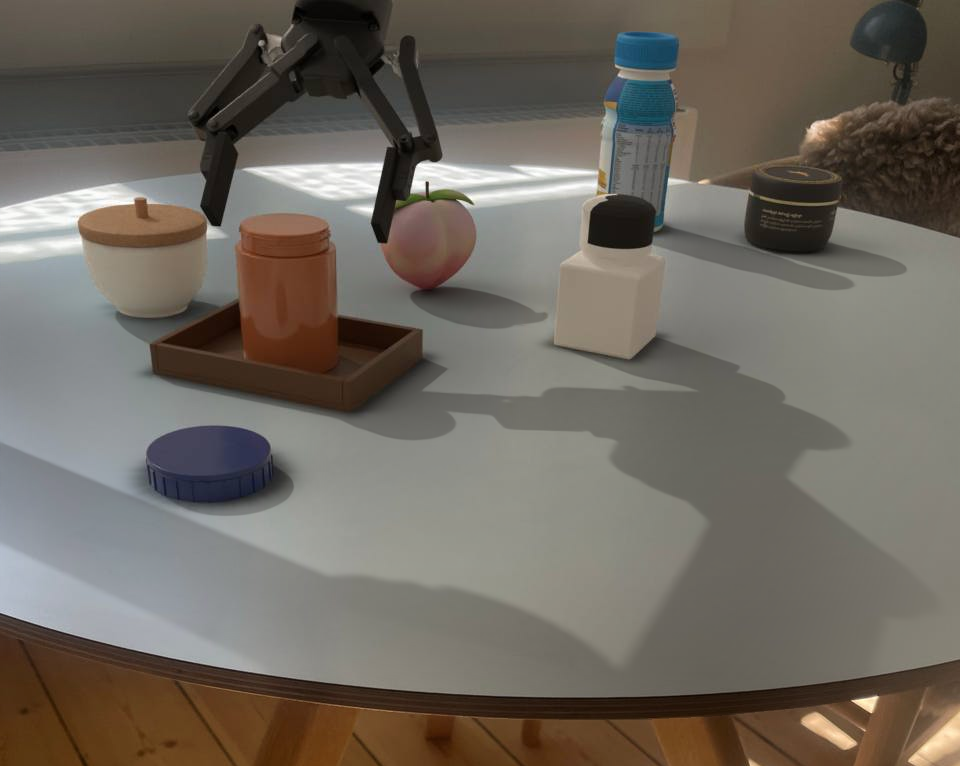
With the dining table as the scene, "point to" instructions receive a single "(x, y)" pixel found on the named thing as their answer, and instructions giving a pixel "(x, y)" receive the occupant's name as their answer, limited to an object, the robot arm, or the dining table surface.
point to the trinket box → (146, 256)
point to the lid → (209, 463)
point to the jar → (791, 208)
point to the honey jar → (288, 291)
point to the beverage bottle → (640, 120)
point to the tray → (357, 377)
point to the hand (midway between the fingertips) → (293, 225)
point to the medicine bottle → (611, 280)
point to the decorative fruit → (430, 237)
